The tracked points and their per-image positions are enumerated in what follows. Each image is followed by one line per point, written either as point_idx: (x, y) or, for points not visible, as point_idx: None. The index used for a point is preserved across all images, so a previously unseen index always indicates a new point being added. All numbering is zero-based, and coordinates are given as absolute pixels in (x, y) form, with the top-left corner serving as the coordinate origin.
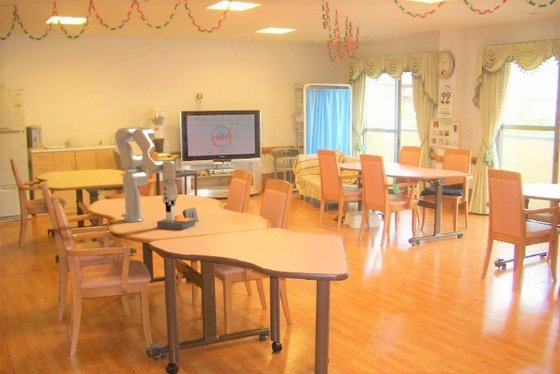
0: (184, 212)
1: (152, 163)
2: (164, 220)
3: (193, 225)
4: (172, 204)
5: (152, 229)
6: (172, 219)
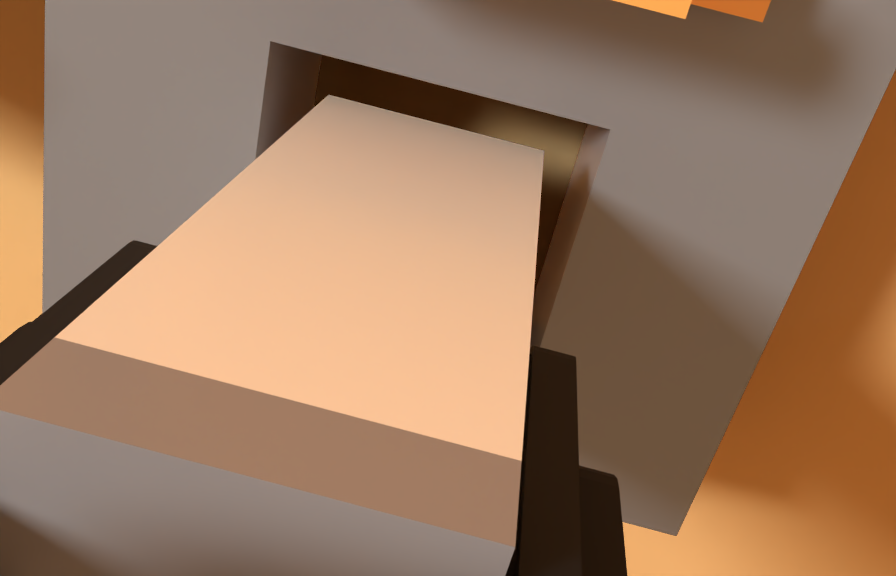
0: None
1: None
2: None
3: None
4: (118, 544)
5: (843, 475)
6: (495, 157)
